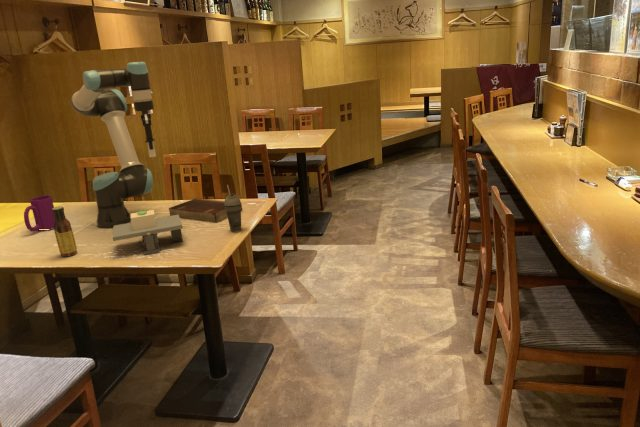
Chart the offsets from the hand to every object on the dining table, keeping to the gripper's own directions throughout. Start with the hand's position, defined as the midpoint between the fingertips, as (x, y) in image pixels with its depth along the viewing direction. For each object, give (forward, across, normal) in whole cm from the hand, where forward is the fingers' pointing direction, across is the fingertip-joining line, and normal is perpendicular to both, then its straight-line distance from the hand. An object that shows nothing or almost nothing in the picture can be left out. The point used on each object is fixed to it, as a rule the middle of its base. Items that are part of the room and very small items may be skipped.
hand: (152, 156), depth 219 cm
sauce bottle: (+33, -14, +38) cm, 52 cm away
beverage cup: (+33, -21, -28) cm, 48 cm away
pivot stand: (+32, -20, +2) cm, 38 cm away
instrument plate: (+25, -20, +7) cm, 33 cm away
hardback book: (+33, +12, -20) cm, 40 cm away
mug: (+33, +29, +54) cm, 69 cm away
